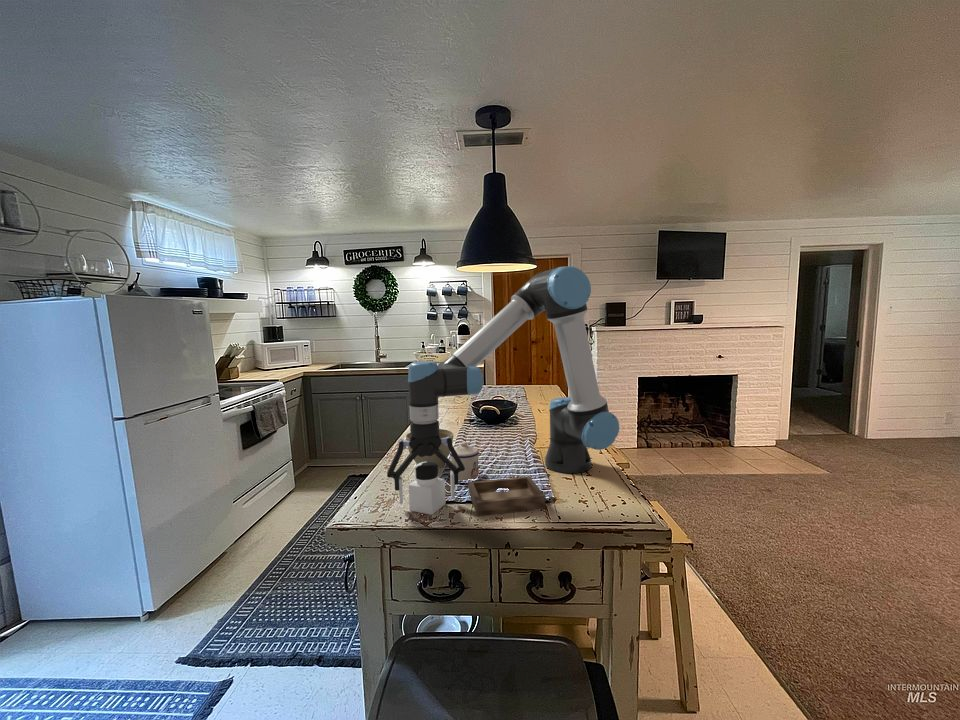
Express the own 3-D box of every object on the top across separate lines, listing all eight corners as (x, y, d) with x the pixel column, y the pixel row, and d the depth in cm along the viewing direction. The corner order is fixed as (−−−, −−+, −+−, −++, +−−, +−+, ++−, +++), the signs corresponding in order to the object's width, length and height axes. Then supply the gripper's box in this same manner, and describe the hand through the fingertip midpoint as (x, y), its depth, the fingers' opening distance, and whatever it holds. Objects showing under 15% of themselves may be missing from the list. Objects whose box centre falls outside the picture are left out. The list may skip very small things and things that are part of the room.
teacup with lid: (477, 485, 126) (476, 447, 125) (447, 484, 128) (446, 446, 126) (482, 470, 138) (481, 436, 137) (455, 470, 139) (454, 435, 138)
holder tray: (529, 487, 123) (529, 476, 123) (545, 508, 109) (545, 495, 109) (468, 493, 120) (468, 482, 120) (477, 516, 106) (477, 502, 106)
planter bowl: (438, 476, 134) (437, 443, 133) (397, 469, 141) (396, 438, 140) (462, 460, 149) (461, 430, 147) (424, 455, 156) (423, 426, 155)
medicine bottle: (446, 504, 114) (444, 461, 113) (432, 515, 107) (430, 470, 106) (423, 500, 117) (422, 458, 116) (409, 510, 110) (407, 466, 109)
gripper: (374, 427, 104) (378, 510, 106) (473, 420, 108) (476, 500, 110) (376, 420, 111) (380, 497, 113) (469, 414, 116) (471, 489, 118)
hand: (427, 499), depth 112 cm, fingers open, 13 cm apart
